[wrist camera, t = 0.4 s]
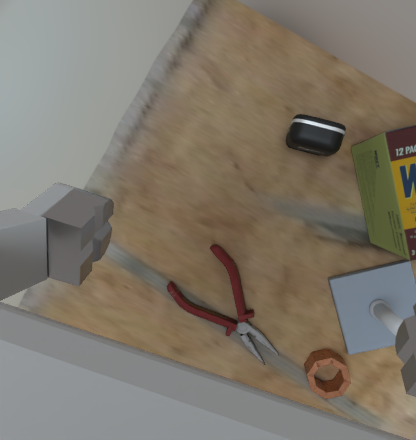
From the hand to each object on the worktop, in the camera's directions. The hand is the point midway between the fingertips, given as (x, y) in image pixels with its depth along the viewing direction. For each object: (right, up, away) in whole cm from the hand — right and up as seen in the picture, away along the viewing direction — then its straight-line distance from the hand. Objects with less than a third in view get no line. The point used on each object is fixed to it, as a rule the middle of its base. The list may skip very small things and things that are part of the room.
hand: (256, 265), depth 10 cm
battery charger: (+14, +13, +50) cm, 54 cm away
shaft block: (+25, -12, +50) cm, 57 cm away
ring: (+17, -22, +52) cm, 59 cm away
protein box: (+27, +6, +49) cm, 56 cm away
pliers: (+1, -14, +54) cm, 56 cm away
